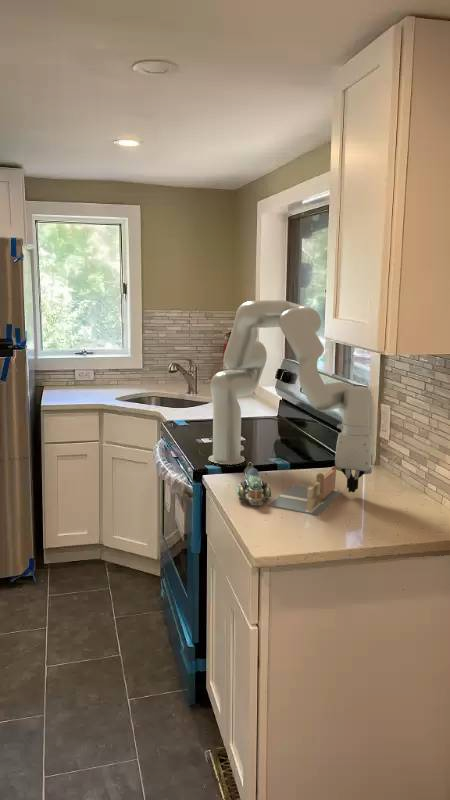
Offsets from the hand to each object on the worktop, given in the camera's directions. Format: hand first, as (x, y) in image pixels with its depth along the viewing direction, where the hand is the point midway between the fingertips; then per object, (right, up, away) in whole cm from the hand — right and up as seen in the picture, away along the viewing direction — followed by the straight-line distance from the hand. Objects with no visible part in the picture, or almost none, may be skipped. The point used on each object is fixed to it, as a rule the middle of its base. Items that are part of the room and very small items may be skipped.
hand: (352, 490), depth 187 cm
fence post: (-12, -3, -9) cm, 15 cm away
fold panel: (-7, -1, +1) cm, 7 cm away
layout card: (-14, -2, -2) cm, 14 cm away
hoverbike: (-29, -1, +3) cm, 29 cm away
